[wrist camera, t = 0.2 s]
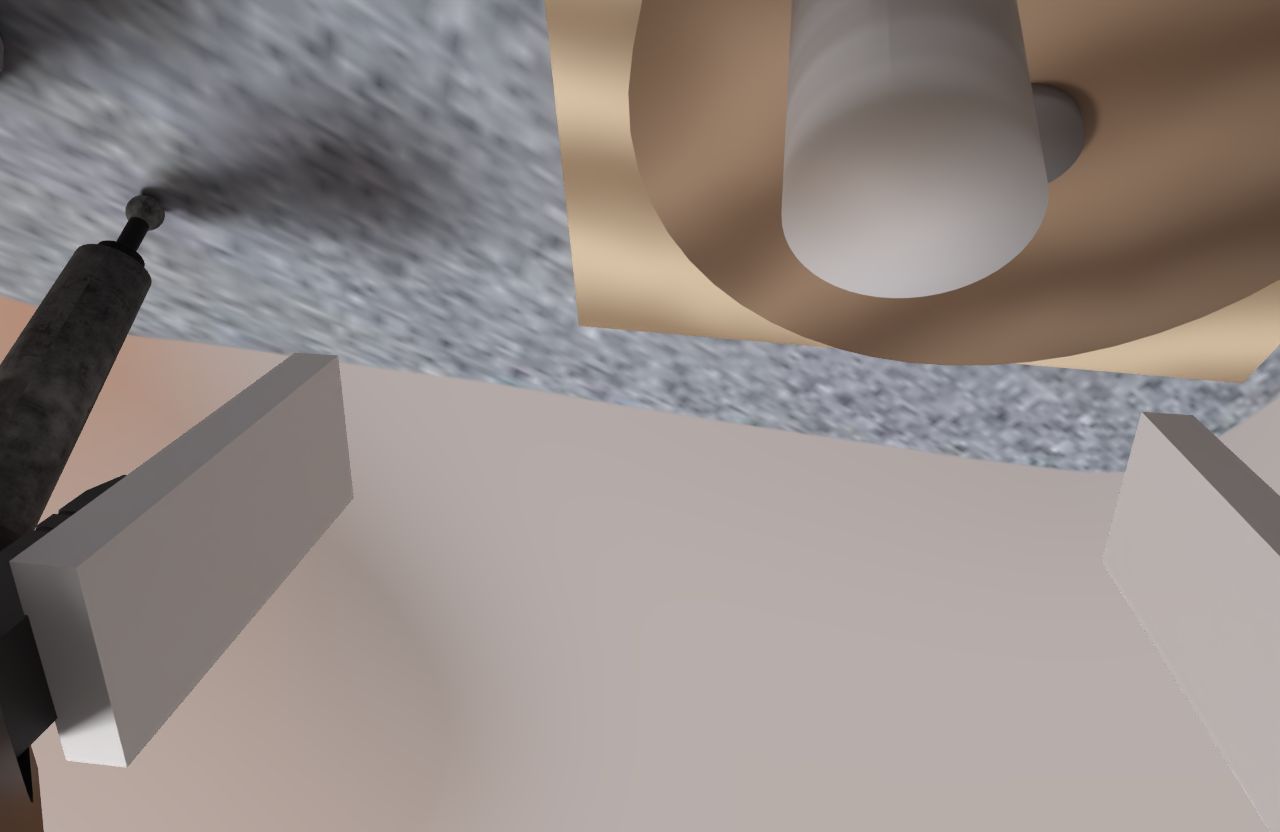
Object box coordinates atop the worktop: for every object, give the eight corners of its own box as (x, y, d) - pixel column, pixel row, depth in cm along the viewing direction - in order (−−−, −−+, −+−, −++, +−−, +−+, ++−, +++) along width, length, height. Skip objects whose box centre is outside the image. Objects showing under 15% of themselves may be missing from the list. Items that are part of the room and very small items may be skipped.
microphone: (259, 276, 38) (34, 779, 28) (90, 243, 38) (-207, 742, 27) (224, 151, 33) (-78, 725, 22) (24, 110, 32) (-386, 677, 21)
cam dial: (1492, 190, 26) (1709, 595, 19) (831, 376, 37) (829, 675, 30) (1517, -756, 13) (2199, -483, 6) (483, -36, 24) (349, 335, 17)
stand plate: (496, -641, 16) (473, -614, 15) (2092, -625, 14) (2188, -594, 13) (585, 296, 37) (577, 333, 36) (1233, 351, 35) (1245, 391, 34)
